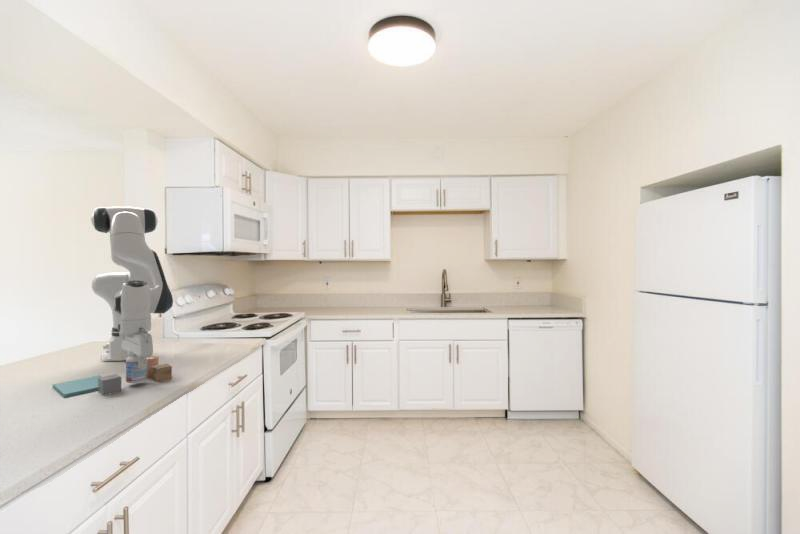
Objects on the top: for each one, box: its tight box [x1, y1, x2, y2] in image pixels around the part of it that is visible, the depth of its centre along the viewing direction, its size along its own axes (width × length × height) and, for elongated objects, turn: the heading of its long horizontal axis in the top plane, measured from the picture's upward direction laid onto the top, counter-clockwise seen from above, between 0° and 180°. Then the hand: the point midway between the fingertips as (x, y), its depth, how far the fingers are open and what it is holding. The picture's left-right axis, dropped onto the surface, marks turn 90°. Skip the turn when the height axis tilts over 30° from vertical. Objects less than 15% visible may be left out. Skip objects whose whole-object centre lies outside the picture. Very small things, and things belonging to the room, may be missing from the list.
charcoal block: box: [97, 373, 122, 396], centre depth 123 cm, size 5×5×5 cm
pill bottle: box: [125, 350, 148, 384], centre depth 131 cm, size 6×6×11 cm
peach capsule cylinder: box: [146, 355, 160, 379], centre depth 140 cm, size 5×5×7 cm
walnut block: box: [150, 363, 173, 383], centre depth 137 cm, size 5×5×5 cm
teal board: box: [52, 374, 103, 398], centre depth 128 cm, size 16×13×1 cm
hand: (136, 365), depth 131 cm, fingers closed on pill bottle, 6 cm apart
